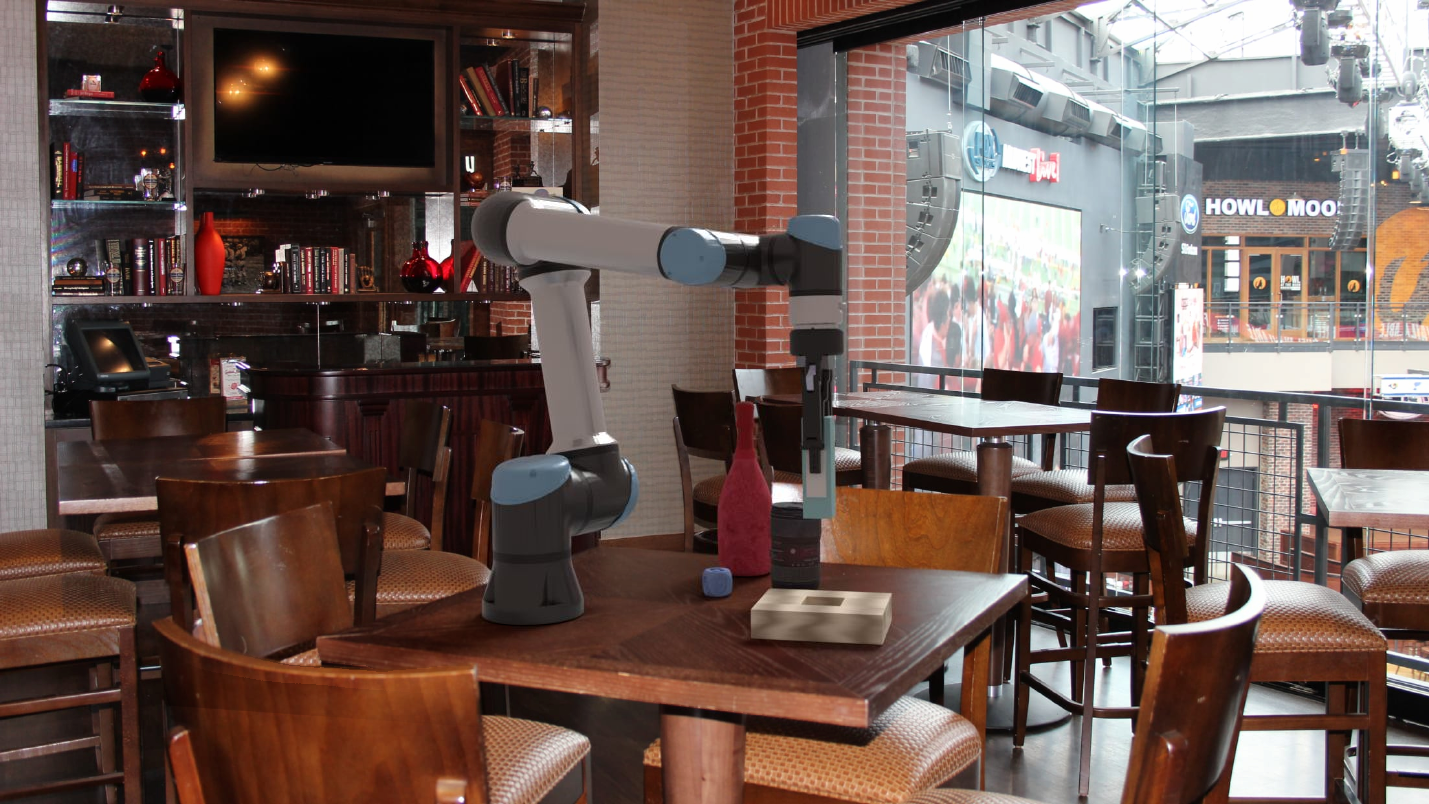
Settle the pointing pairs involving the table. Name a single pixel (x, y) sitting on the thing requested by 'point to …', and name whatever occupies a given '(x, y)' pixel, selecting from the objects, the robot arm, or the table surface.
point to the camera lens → (794, 548)
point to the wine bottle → (745, 506)
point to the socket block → (822, 616)
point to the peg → (826, 505)
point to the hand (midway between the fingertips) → (819, 494)
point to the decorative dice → (717, 582)
